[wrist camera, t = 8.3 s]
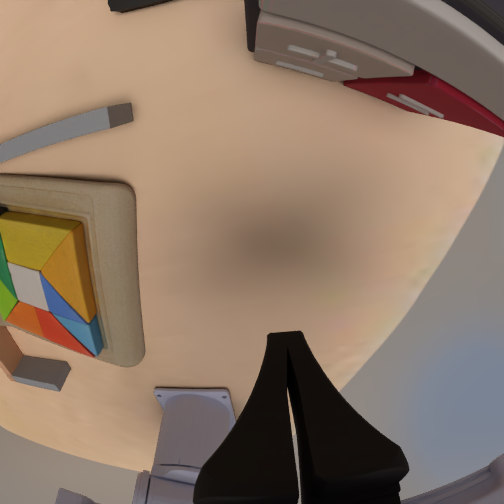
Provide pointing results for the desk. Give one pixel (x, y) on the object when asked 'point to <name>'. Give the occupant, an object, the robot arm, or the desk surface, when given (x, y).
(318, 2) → the grey and red box
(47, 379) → the bay
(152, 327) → the desk surface
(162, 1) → the dark sector wedge
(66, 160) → the desk surface
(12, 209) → the wooden puzzle
